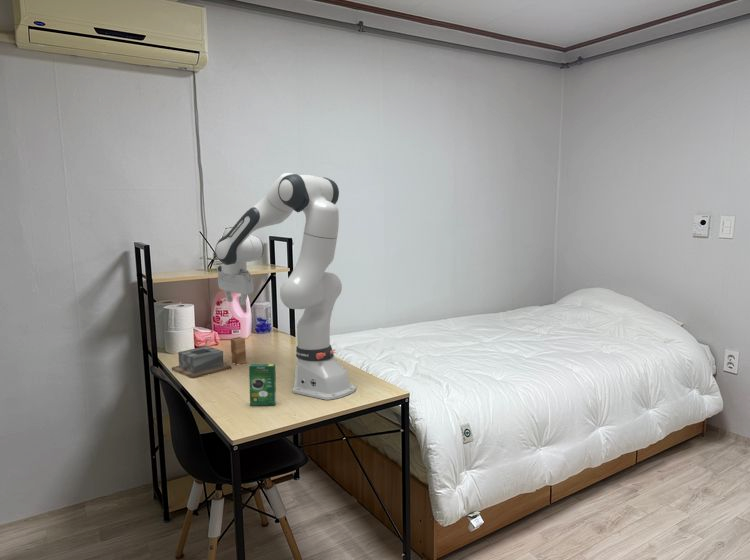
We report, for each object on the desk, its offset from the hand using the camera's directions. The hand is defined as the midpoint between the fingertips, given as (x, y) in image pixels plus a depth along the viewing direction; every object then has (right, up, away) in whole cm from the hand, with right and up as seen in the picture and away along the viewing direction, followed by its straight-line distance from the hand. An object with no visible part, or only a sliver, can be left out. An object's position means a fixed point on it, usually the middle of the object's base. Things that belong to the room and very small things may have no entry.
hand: (236, 303), depth 205 cm
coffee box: (+20, -30, -42) cm, 55 cm away
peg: (0, -24, +3) cm, 24 cm away
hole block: (-12, -25, -4) cm, 28 cm away
